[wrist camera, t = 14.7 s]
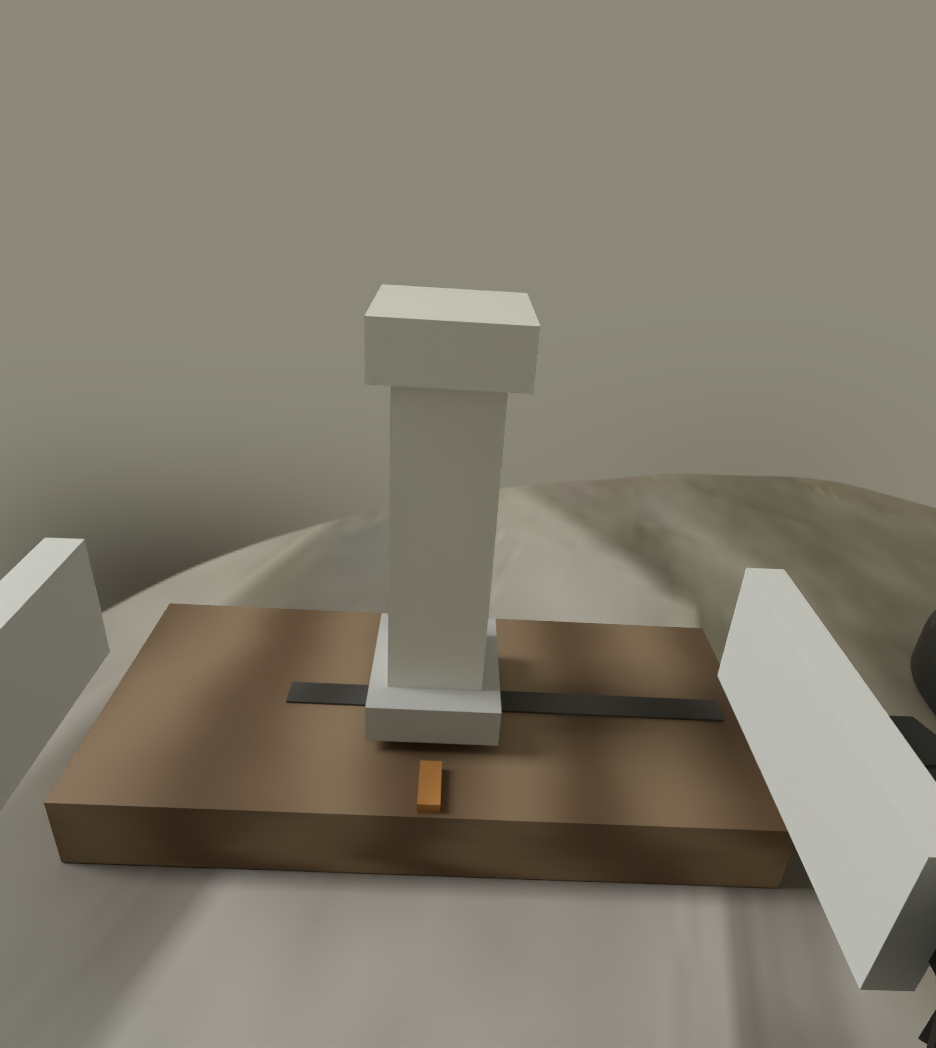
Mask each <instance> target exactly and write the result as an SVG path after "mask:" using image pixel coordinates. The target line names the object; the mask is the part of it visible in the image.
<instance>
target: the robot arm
mask: <svg viewBox="0 0 936 1048" xmlns="http://www.w3.org/2000/svg"><path fill="white" fill-rule="evenodd" d="M109 652H110V649H109V645H108V640H107V636H106V632H105V627H104V623H103V619H102V614H101V610H100V606H99V601H98V597H97V592H96V588H95V584H94V579H93V575H92V570H91V566H90V562H89V557H88V553H87V548H86V544H85V540H84V539H64V538H44V539H43V540H42V541H41V542H40V543H39V544H38V545H37V546H36V547H35V548H34V549H33V550H32V551H31V552H30V553H29V554H28V555H27V556H26V557H24V558H23V559H22V560H21V561H20V562H19V563H18V564H17V565H16V566H15V567H14V568H13V569H12V570H11V571H10V572H9V573H8V574H7V575H6V576H5V577H4V578H3V579H2V580H1V581H0V810H1V809H2V808H3V806H4V805H5V803H6V802H7V800H8V799H9V797H10V796H11V794H12V793H13V792H14V790H15V789H16V787H17V786H18V784H19V783H20V781H21V780H22V778H23V777H24V776H25V774H26V773H27V771H28V770H29V768H30V767H31V765H32V764H33V762H34V761H35V760H36V758H37V757H38V755H39V754H40V752H41V751H42V749H43V748H44V746H45V745H46V744H47V742H48V741H49V739H50V738H51V736H52V735H53V733H54V732H55V730H56V729H57V728H58V726H59V725H60V723H61V722H62V720H63V719H64V717H65V716H66V714H67V713H68V712H69V710H70V709H71V707H72V706H73V704H74V703H75V701H76V700H77V698H78V697H79V696H80V694H81V693H82V691H83V690H84V688H85V687H86V685H87V684H88V682H89V681H90V680H91V678H92V677H93V675H94V674H95V672H96V671H97V669H98V668H99V666H100V665H101V664H102V662H103V661H104V659H105V658H106V656H107V655H108V653H109ZM911 671H912V675H913V679H914V681H915V684H916V686H917V688H918V690H919V692H920V694H921V695H922V697H923V698H924V700H925V701H926V703H927V704H928V705H929V707H930V708H931V709H932V711H933V712H934V713H935V714H936V610H935V611H934V612H933V613H932V614H931V616H930V617H929V618H928V620H927V622H926V623H925V625H924V628H923V630H922V632H921V635H920V637H919V639H918V642H917V644H916V646H915V649H914V651H913V654H912V657H911ZM717 676H718V678H719V680H720V682H721V685H722V687H723V689H724V691H725V693H726V696H727V698H728V700H729V702H730V704H731V707H732V709H733V711H734V713H735V715H736V718H737V720H738V722H739V724H740V726H741V729H742V731H743V733H744V735H745V737H746V740H747V742H748V744H749V746H750V748H751V751H752V753H753V755H754V757H755V759H756V762H757V764H758V766H759V768H760V770H761V773H762V775H763V777H764V779H765V781H766V784H767V786H768V788H769V790H770V793H771V795H772V797H773V799H774V801H775V804H776V806H777V808H778V810H779V812H780V815H781V817H782V819H783V821H784V823H785V826H786V828H787V830H788V832H789V834H790V837H791V839H792V841H793V843H794V845H795V848H796V850H797V852H798V854H799V856H800V859H801V861H802V863H803V865H804V867H805V870H806V872H807V874H808V876H809V878H810V881H811V883H812V885H813V887H814V889H815V892H816V894H817V896H818V898H819V900H820V903H821V905H822V907H823V909H824V912H825V914H826V916H827V918H828V920H829V923H830V925H831V927H832V929H833V931H834V934H835V936H836V938H837V940H838V942H839V945H840V947H841V949H842V951H843V953H844V956H845V958H846V960H847V962H848V964H849V967H850V969H851V971H852V973H853V975H854V978H855V980H856V982H857V984H858V986H859V989H860V990H892V991H915V989H916V988H917V986H918V984H919V982H920V981H921V979H922V977H923V976H924V974H925V972H926V970H927V969H928V967H929V965H930V966H931V967H932V969H933V971H934V973H935V975H936V734H934V733H933V732H932V731H930V730H929V729H928V728H927V727H925V726H924V725H923V724H921V723H920V722H919V721H918V720H916V719H915V718H914V717H907V716H888V714H887V713H886V711H885V710H884V709H883V707H882V706H881V704H880V703H879V702H878V700H877V699H876V697H875V696H874V695H873V693H872V692H871V690H870V689H869V688H868V686H867V685H866V683H865V682H864V681H863V679H862V678H861V676H860V675H859V674H858V672H857V671H856V669H855V668H854V667H853V665H852V664H851V662H850V661H849V660H848V658H847V657H846V655H845V654H844V653H843V651H842V650H841V648H840V647H839V646H838V644H837V643H836V641H835V640H834V639H833V637H832V636H831V634H830V633H829V632H828V630H827V629H826V627H825V626H824V625H823V623H822V622H821V620H820V619H819V618H818V616H817V615H816V613H815V612H814V611H813V609H812V608H811V606H810V605H809V604H808V602H807V601H806V599H805V598H804V597H803V595H802V594H801V592H800V591H799V590H798V588H797V587H796V585H795V584H794V583H793V581H792V580H791V578H790V577H789V576H788V574H787V573H786V571H785V570H783V569H760V568H746V571H745V575H744V578H743V582H742V586H741V590H740V593H739V597H738V601H737V604H736V608H735V612H734V616H733V619H732V623H731V627H730V631H729V634H728V638H727V642H726V645H725V649H724V653H723V657H722V660H721V664H720V668H719V672H718V675H717ZM918 1039H920V1040H921V1041H923V1042H924V1043H926V1044H927V1048H936V1010H935V1012H934V1013H933V1015H932V1017H931V1018H930V1020H929V1021H928V1023H927V1025H926V1026H925V1028H924V1030H923V1031H922V1033H921V1034H920V1036H919V1038H918Z"/></svg>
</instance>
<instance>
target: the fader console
mask: <svg viewBox="0 0 936 1048" xmlns="http://www.w3.org/2000/svg"><path fill="white" fill-rule="evenodd" d="M381 614H382V613H362V612H341V611H319V610H298V609H277V608H255V607H234V606H213V605H192V604H169V606H168V607H167V609H166V610H165V612H164V614H163V615H162V617H161V618H160V620H159V622H158V623H157V625H156V626H155V628H154V629H153V631H152V633H151V634H150V636H149V637H148V639H147V641H146V642H145V644H144V645H143V647H142V648H141V650H140V652H139V653H138V655H137V656H136V658H135V659H134V661H133V663H132V664H131V666H130V667H129V669H128V671H127V672H126V674H125V675H124V677H123V678H122V680H121V682H120V683H119V685H118V686H117V688H116V690H115V691H114V693H113V694H112V696H111V697H110V699H109V701H108V702H107V704H106V705H105V707H104V708H103V710H102V712H101V713H100V715H99V716H98V718H97V720H96V721H95V723H94V724H93V726H92V727H91V729H90V731H89V732H88V734H87V735H86V737H85V739H84V740H83V742H82V743H81V745H80V746H79V748H78V750H77V751H76V753H75V754H74V756H73V758H72V759H71V761H70V762H69V764H68V765H67V767H66V769H65V770H64V772H63V773H62V775H61V776H60V778H59V780H58V781H57V783H56V784H55V786H54V788H53V789H52V791H51V792H50V794H49V795H48V797H47V799H46V800H45V802H44V805H45V808H46V811H47V815H48V818H49V822H50V825H51V828H52V832H53V835H54V839H55V842H56V845H57V849H58V852H59V855H60V859H61V862H74V863H101V864H129V865H157V866H185V867H212V868H240V869H268V870H296V871H323V872H351V873H379V874H407V875H434V876H462V877H490V878H518V879H546V880H573V881H601V882H629V883H657V884H684V885H712V886H740V887H768V888H778V887H779V885H780V882H781V880H782V877H783V875H784V872H785V870H786V867H787V864H788V862H789V859H790V857H791V854H792V852H793V849H794V847H795V845H794V843H793V841H792V839H791V837H790V834H789V832H788V830H787V828H786V826H785V823H784V821H783V819H782V817H781V815H780V812H779V810H778V808H777V806H776V804H775V801H774V799H773V797H772V795H771V793H770V790H769V788H768V786H767V784H766V781H765V779H764V777H763V775H762V773H761V770H760V768H759V766H758V764H757V762H756V759H755V757H754V755H753V753H752V751H751V748H750V746H749V744H748V742H747V740H746V737H745V735H744V733H743V731H742V729H741V726H740V724H739V722H738V720H737V718H736V715H735V713H734V711H733V709H732V707H731V704H730V702H729V700H728V698H727V696H726V693H725V691H724V689H723V687H722V685H721V682H720V680H719V678H718V676H717V675H718V672H719V668H720V664H719V662H718V660H717V658H716V656H715V654H714V652H713V650H712V648H711V646H710V644H709V642H708V640H707V637H706V635H705V633H704V631H703V629H702V628H682V627H660V626H639V625H618V624H596V623H575V622H554V621H532V620H511V619H496V634H497V650H498V666H499V682H500V697H501V713H502V714H501V723H500V733H499V742H498V746H493V745H469V744H445V743H421V742H397V741H373V740H365V706H366V700H367V694H368V689H369V683H370V677H371V671H372V666H373V660H374V654H375V649H376V643H377V637H378V631H379V626H380V620H381Z"/></svg>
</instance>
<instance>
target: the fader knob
mask: <svg viewBox="0 0 936 1048" xmlns="http://www.w3.org/2000/svg"><path fill="white" fill-rule="evenodd" d="M364 318H365V319H364V320H365V321H364V322H365V384H366V385H382V386H391V399H390V401H391V404H390V407H391V408H390V493H389V495H390V496H389V498H390V499H389V501H390V502H389V586H388V614H384V613H382V614H381V620H380V626H379V631H378V637H377V643H376V649H375V654H374V660H373V666H372V671H371V677H370V683H369V689H368V694H367V700H366V706H365V740H373V741H397V742H421V743H445V744H469V745H493V746H498V742H499V733H500V723H501V714H502V713H501V697H500V682H499V666H498V650H497V634H496V619H491V618H488V615H489V604H490V592H491V581H492V569H493V558H494V546H495V535H496V524H497V512H498V501H499V489H500V477H501V466H502V455H503V444H504V431H505V420H506V409H507V398H508V393H523V394H525V393H526V394H533V390H534V381H535V372H536V363H537V353H538V343H539V333H540V324H539V322H538V320H537V317H536V314H535V312H534V309H533V307H532V304H531V302H530V299H529V297H528V294H527V293H514V292H496V291H481V290H463V289H448V288H447V289H446V288H431V287H414V286H399V285H382V286H381V287H380V289H379V291H378V293H377V294H376V296H375V298H374V300H373V302H372V303H371V305H370V307H369V309H368V311H367V312H366V314H365V316H364Z"/></svg>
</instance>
